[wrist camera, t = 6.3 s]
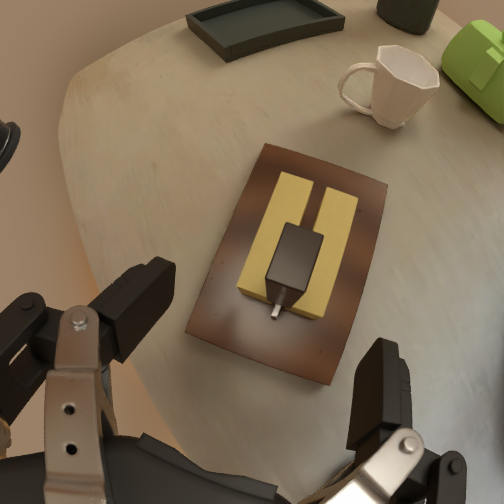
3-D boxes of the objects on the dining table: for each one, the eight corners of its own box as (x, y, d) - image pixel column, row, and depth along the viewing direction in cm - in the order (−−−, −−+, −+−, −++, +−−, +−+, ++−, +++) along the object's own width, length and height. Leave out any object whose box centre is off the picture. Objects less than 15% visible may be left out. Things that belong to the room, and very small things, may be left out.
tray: (226, 63, 31) (224, 47, 29) (188, 27, 35) (185, 15, 32) (343, 29, 33) (345, 17, 30) (291, -2, 36) (291, -13, 34)
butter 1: (271, 304, 22) (272, 299, 19) (241, 292, 22) (235, 286, 19) (308, 201, 24) (313, 181, 21) (280, 192, 24) (281, 171, 21)
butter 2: (314, 319, 22) (322, 317, 18) (284, 308, 22) (286, 304, 19) (347, 215, 24) (358, 197, 20) (319, 205, 24) (326, 186, 21)
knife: (283, 322, 22) (298, 314, 10) (263, 315, 22) (255, 299, 10) (300, 273, 23) (330, 216, 11) (281, 266, 23) (292, 202, 11)
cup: (422, 142, 27) (452, 95, 19) (338, 135, 27) (355, 78, 19) (404, 97, 28) (425, 51, 21) (327, 89, 29) (337, 35, 21)
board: (327, 383, 21) (329, 386, 20) (188, 332, 23) (184, 332, 22) (384, 190, 25) (388, 184, 24) (265, 149, 27) (264, 142, 26)
